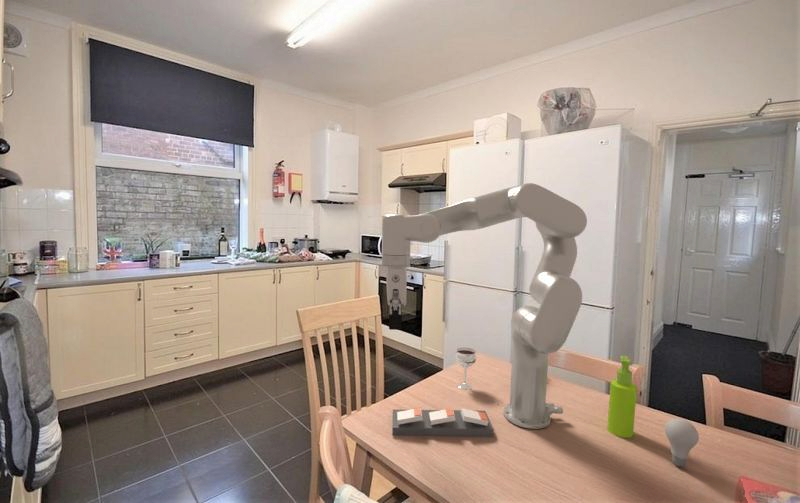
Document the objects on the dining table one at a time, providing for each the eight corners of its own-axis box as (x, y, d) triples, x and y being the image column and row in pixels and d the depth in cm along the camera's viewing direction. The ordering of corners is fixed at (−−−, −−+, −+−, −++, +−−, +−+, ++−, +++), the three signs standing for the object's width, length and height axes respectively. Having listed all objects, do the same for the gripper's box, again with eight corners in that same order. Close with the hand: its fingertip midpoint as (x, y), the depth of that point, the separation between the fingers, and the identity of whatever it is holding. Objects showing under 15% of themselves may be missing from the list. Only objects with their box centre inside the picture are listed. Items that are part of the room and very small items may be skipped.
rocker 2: (483, 417, 99) (484, 412, 99) (487, 425, 95) (488, 420, 95) (460, 412, 98) (461, 407, 98) (463, 420, 95) (464, 415, 94)
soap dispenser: (630, 426, 100) (636, 355, 98) (634, 440, 94) (640, 364, 92) (606, 421, 103) (611, 352, 101) (608, 434, 96) (614, 360, 95)
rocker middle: (453, 412, 98) (452, 407, 98) (455, 420, 94) (454, 415, 94) (429, 416, 98) (428, 411, 98) (431, 425, 95) (430, 420, 94)
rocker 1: (421, 411, 98) (420, 406, 98) (422, 420, 94) (421, 414, 94) (398, 416, 98) (397, 411, 98) (398, 424, 94) (397, 419, 94)
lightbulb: (684, 478, 80) (689, 430, 79) (656, 460, 86) (660, 416, 85) (701, 470, 83) (706, 424, 82) (672, 454, 88) (676, 411, 87)
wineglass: (452, 381, 126) (453, 347, 125) (471, 381, 126) (472, 347, 125) (457, 390, 119) (458, 355, 118) (477, 390, 120) (479, 354, 119)
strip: (484, 417, 103) (485, 408, 103) (493, 436, 94) (493, 426, 94) (392, 416, 103) (392, 407, 103) (392, 435, 94) (392, 425, 94)
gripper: (411, 265, 89) (410, 334, 90) (409, 257, 106) (408, 315, 108) (380, 264, 89) (379, 333, 90) (383, 257, 106) (382, 315, 108)
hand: (395, 323), depth 99 cm, fingers open, 9 cm apart
